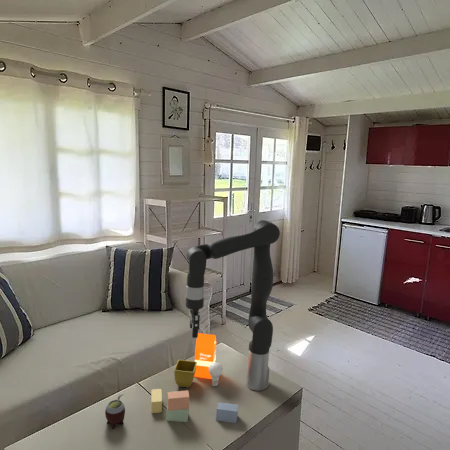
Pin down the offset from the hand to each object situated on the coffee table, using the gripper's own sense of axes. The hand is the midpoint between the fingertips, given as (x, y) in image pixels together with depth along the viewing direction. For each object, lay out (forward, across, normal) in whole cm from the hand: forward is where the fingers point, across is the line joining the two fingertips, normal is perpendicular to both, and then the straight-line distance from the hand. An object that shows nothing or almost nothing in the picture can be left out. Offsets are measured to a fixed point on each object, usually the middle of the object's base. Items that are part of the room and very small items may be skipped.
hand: (193, 332), depth 148 cm
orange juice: (+28, +14, -8) cm, 33 cm away
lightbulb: (+28, +4, -11) cm, 31 cm away
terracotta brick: (+23, -14, +7) cm, 28 cm away
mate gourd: (+28, -14, +30) cm, 44 cm away
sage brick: (+28, -14, +7) cm, 32 cm away
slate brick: (+28, -17, -12) cm, 35 cm away
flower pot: (+28, +7, +2) cm, 29 cm away
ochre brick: (+28, -6, +15) cm, 33 cm away
